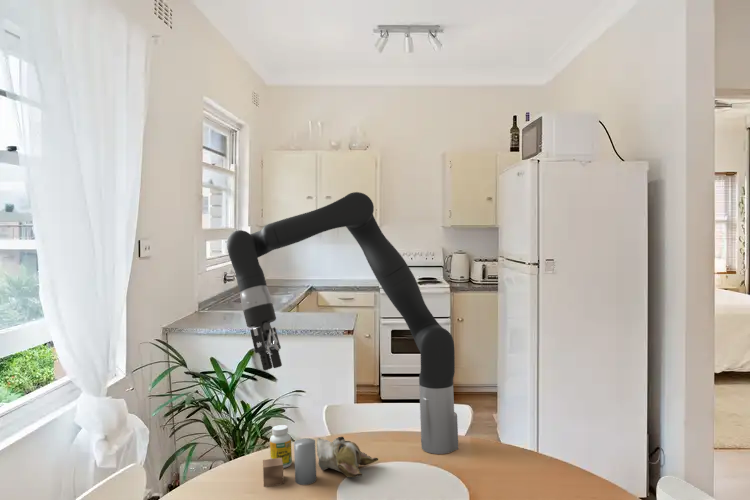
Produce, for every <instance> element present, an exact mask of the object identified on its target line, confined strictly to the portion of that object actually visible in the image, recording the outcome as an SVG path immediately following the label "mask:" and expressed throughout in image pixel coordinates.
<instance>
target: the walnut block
mask: <svg viewBox="0 0 750 500" xmlns="http://www.w3.org/2000/svg"><path fill="white" fill-rule="evenodd" d="M262 479H263V487H264V488H265V487H270V486H277V485H278V486H279V485H283V484H284V468H283V462H282V458H275V459H271V458H269V459H262Z"/></svg>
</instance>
